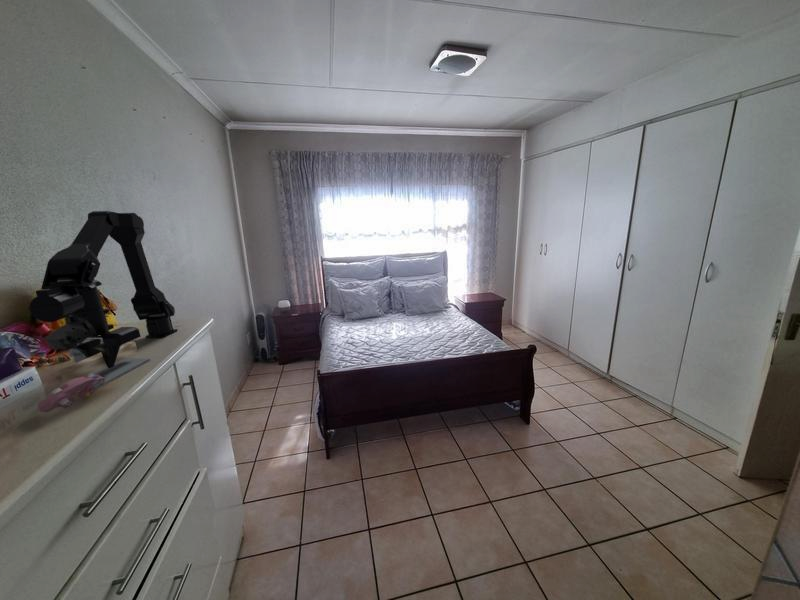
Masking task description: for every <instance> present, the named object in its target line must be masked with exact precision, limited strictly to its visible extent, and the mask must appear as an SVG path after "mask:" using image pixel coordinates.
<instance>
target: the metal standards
mask: <svg viewBox="0 0 800 600" xmlns="http://www.w3.org/2000/svg"><path fill="white" fill-rule="evenodd" d="M130 342H132V341H130ZM68 353H69V356H70V357H73V359H74V362H75V363H78V362H80V361H82V360H84V359H87V357H86V356H85V355H84V354H82V353H81V352H80V351H79V350H75V349H70V350H68ZM75 363H74V364H75Z"/></svg>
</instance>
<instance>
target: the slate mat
mask: <svg viewBox="0 0 800 600" xmlns="http://www.w3.org/2000/svg"><path fill="white" fill-rule="evenodd" d="M149 361H150V362H151V359H150V358H132V357H131V358H130V357H129V358H128V357H127V358H125V359H123V360H120V361H118V362H116V363H115V364H114V366H113V367H112V368H108V367H106V368H104V369H102V370H100V371H98V372H96V373H94V374H96V375H99V376H101V377H103V378H104V379H105V381H104V383H103V384H102V385H101V386H100V387H99V388H97V389H96V390H98V389H100V388H102V387H103V386H106V385H107V384H110V383H111V382H113V381H115V380H117V379H119V378H120V377H122V376H124V375H125V374H127V373H129V372H131V371H133V370H135V369H136V368H139V367H140V366H143V365H144V364H146V363H148V362H149ZM60 387H61V386H59V387H58V388H60Z"/></svg>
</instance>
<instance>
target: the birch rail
mask: <svg viewBox="0 0 800 600" xmlns="http://www.w3.org/2000/svg"><path fill="white" fill-rule="evenodd" d="M136 353H139V351H138V347H137V344H136V341H131V342H127V343H125V344H123V345H121V347H120V349H119V352H118V355H117V358H116V361H115V363H116V362H118V361H120V360H123V359H125V358H128V357H129V358H130V357H131V356H132V355H135V354H136ZM106 367H107V365H106V363H105V360H104V358H103V356H102V353H98V354H96V355H94V356H91V357H89V358H87V359H84V360H82V361H80V362H78V363H73V364H71V365H69V366H67V367H64V368H61V369H59V373H60V376H61V379H62V381H63V383H67V382H68V381H70V380H72V379H75V378H80V377H84V376H88V375H89V374H91V373H93V374H94V373H96V372H98V371H100V370H102V369H104V368H106Z"/></svg>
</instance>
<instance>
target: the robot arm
mask: <svg viewBox="0 0 800 600" xmlns="http://www.w3.org/2000/svg"><path fill="white" fill-rule="evenodd" d="M145 233H146V232H145V223H144V219H143V218H142V217H141V216H140V215H138V214H137V213H135V212H115V211H111V210H94V211H91V212H89V213H88V214H87V219H86V221H85V222H84V224H83V226H82V228H81V229H80V231H79V232H78V234H77V235H76V237H75V238H74V240H73V241H72V243H71V244H70V245H69V246H68V247H66V248H63V249H61V250H59V251H57V252H56V253H55V254H53V255H52V257H51V258H49V260H48V262H47V264H46V269H45V272H44V276H43V279H42V284H41V287H40V288H41V289H37V290H35V293H36V297H34V298H33V299H32V300H31V301H30V304H29V308H28V309H29V312H30V314H31V315H32V316H33V317H34V318H35V319H37V320H38V321H41V322H44V323H54V322H58V321H59V320H62V319H64V321H65V324H64V325H62V326H59V327H58V328H57V329H55V330H53V331H52V332H50V333H49V334H48V335H47V336H45V337H44V338H43V340H44V341H45V342H46V343H47V344H48V345H49V346H50V347H51V348H52V349H53V350H54V351H58V350H64V351H69V350H70V349H75V350H79V351H80V352H81V353H82V354H84V355H85V356H86V357H87V358H89V357H91V356H94V355H96V354H98V353H102V356H103V358H104V360H105V363H106V365H107V367H108V368H112V367H113V366H114V364H115V361H116V358H117V355H118V352H119V349H120V347H121V345H123V344H125V343H127V342H130V341H131V342H133V341H134V340H136V339H138V338H141V333H140V329H139V328H137V327H135V326H121V327H118V328H116V329H115V327H114V324H113V323H110V324H108V319H107V316H106V314H109V313H110V311H109V308H104V306H103V303H102V300H101V296H100V293H99V290H98V287H100V286H102V285H103V284H102V282H101V281H100V280H97V279H96V277H97V276H98V273H99V269H100V267H101V262H100V260H99V258H98V257H99V254H100V252H101V250H102V248H104V244H105V243H106V241H107V239H108V237H110V238H111V239H113V240H114V241H115V242H116V243H117V244H119V246H120V248H121V250H122V254H123V257H124V259H125V262H126V265H127V268H128V271H129V274H130V277H131V280H132V282H133V286H134V290H135V293H134V295H133V297H131V298H130V299H131V300H130V302H131V304H132V308H133V311H134V312H135V314H136V316H137V319H139V321H143V320H145V323H146V324H145V326H146V330H147V331H146V332H147V333H148V334H147V335H145V338H166V337H167V336H169V335H171V334H173V333H175V332H177V331H178V329H177V328H174V326H173V323H172V322H173V321H172V319H171V317H174V316H175V314H176V312H175V311H176V310H175V306H173V305H172V304H171V303H170V301H169V300H167V298H166V296H165V293H164V292H162V291H161V290H160V289H158V288H157V287H156V285H155V282H154V279H153V276H152V272H151V270H150V267H149V262H148V261H147V257H146V254H145V251H144V248H143V245H142V241H143V238H144V237H145V236H144V235H145Z"/></svg>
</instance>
